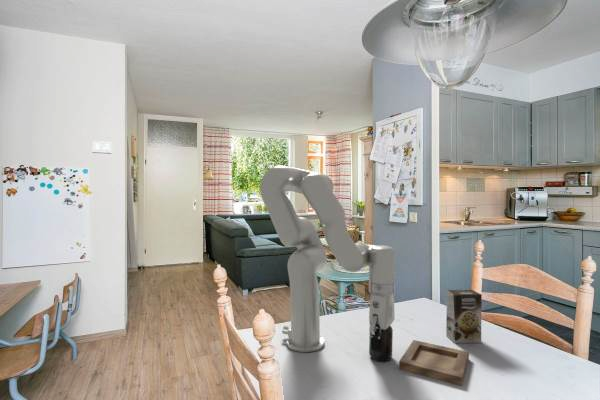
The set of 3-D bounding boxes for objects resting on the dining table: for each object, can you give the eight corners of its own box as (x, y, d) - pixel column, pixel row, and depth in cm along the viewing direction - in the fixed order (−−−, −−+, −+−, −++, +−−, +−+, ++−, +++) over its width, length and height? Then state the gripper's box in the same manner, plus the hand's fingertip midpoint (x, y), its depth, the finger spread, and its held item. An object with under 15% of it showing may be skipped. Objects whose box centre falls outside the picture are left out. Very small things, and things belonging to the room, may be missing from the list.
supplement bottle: (365, 356, 101) (365, 317, 101) (374, 348, 107) (375, 310, 106) (387, 363, 97) (387, 322, 97) (395, 354, 103) (396, 315, 102)
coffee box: (455, 344, 110) (454, 295, 110) (445, 335, 117) (445, 289, 116) (482, 343, 110) (482, 294, 110) (471, 335, 117) (471, 288, 116)
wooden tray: (399, 369, 95) (399, 361, 95) (413, 346, 109) (413, 339, 109) (461, 385, 87) (461, 377, 87) (468, 359, 100) (468, 351, 100)
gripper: (384, 297, 92) (383, 361, 93) (402, 282, 107) (401, 338, 107) (358, 292, 96) (357, 354, 97) (379, 278, 111) (378, 332, 111)
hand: (380, 345), depth 102 cm, fingers closed on supplement bottle, 6 cm apart
